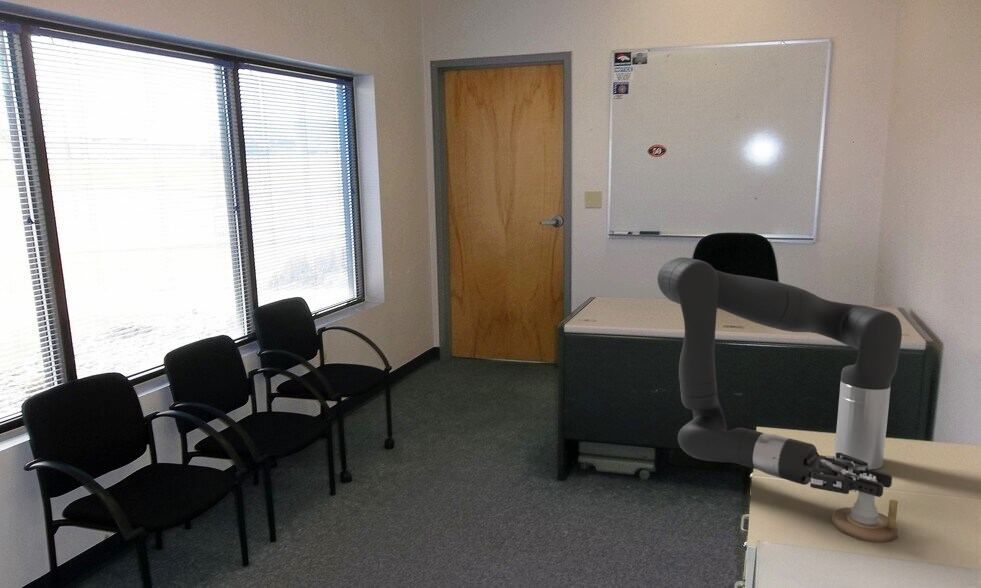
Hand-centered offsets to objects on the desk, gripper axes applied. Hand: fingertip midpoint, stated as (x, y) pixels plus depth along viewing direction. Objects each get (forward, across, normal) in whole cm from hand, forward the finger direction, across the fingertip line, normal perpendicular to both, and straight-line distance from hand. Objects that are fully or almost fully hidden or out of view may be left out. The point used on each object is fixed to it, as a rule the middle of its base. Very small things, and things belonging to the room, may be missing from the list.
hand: (886, 486), depth 116 cm
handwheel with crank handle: (-3, 0, +8) cm, 9 cm away
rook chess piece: (-3, 0, +7) cm, 8 cm away
